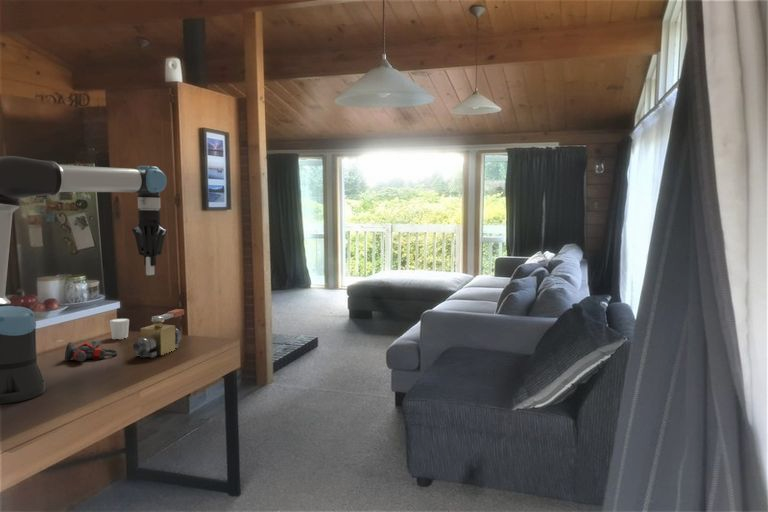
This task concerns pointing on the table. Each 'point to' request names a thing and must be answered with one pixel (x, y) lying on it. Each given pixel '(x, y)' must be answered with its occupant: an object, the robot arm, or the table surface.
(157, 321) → the lever
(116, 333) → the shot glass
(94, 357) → the valve
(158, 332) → the pipe valve
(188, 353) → the table surface
